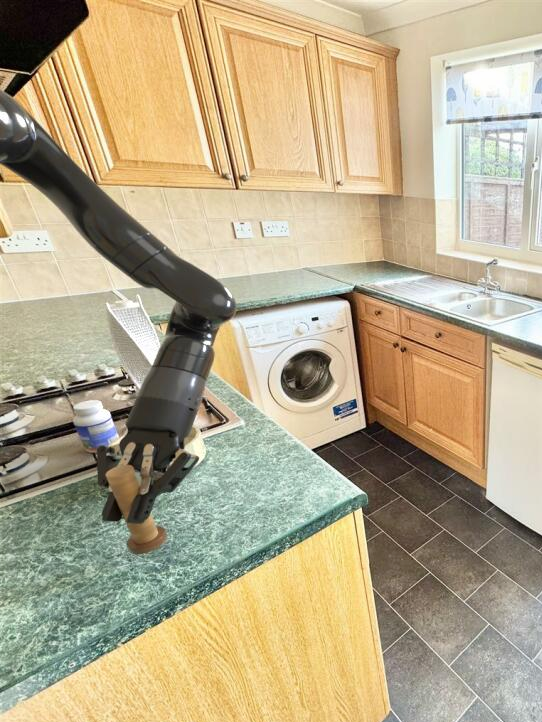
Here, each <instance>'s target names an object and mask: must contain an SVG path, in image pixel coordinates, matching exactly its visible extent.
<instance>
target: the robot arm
mask: <svg viewBox="0 0 542 722" xmlns="http://www.w3.org/2000/svg"><path fill="white" fill-rule="evenodd" d="M0 165H1V166H3V167H4V168H6V169H7V170H9V171H10V172H12V173H13V174H15V175H17V176H18V177H20V178H21V179H23V180H24V181H26V182H27V183H28V184H30V185H31V186H32V187H34V188H35V189H36V190H38V191H39V192H40V193H41V194H43V196H44V197H46V198H47V199H48V200H49V201H50V202H51V203H52V204H53V205H54V206H55V207H56V208H57V209H58V210H59V211H60V212H61V213H62V214H63V216H64V217H65V218H66V219H67V220H68V221H69V223H70V224H71V226H73V228H74V229H75V230H76V232H77V233H78V234H79V235H80V236H81V237H82V239H83V240H84V241H85V242H86V243H87V244H88V245H89V246H90V247H91V248H92V249H93V250H94V251H95V252H97V253H98V254H99V255H100V256H101V257H102V258H104V259H105V260H106V261H108V262H109V263H110V264H112V265H113V266H114V267H115V268H117V270H119V271H121V272H122V273H123V274H124V275H125V276H127V277H128V278H130V280H132V281H133V282H135V283H136V284H137V285H139V286H140V287H142V288H145V289H146V290H158V291H160V292H161V293H163V294H165V295H166V296H168V297H169V298H171V299H172V300H174V301H175V302H174V304H173V307H172V309H171V311H170V314H169V317H168V321H167V324H166V329H165V332H164V333H165V334H164V338H163V341H162V343H160V348H159V350H158V353H157V355H156V358H155V360H154V362H153V365H152V367H151V369H150V371H149V373H148V375H147V376H146V378H145V379H144V381H143V383H142V386H141V388H140V390H139V393H138V395H137V394H136V398H135V400H134V402H133V405H132V407H131V410H130V412H129V415H128V416H127V420H126V422H125V427H126V429H127V432H126V433H125V434H126V435H125V434H124V435H125V436H124V437H123V438H122V439H121V441H120V443H119V444H116V445H113V446H110V447H108V446H104V445H102V446H100V447H98V449H97V453H96V469H97V470H96V471H97V485H98V486H100V487H103V488H105V489H107V490H108V492H109V493H108V496H107V498H106V501H105V503H104V506H103V508H102V510H101V520H102V521H103V522H115V523H118V522H120V521H121V520H122V518H123V515H122V513H121V510H120V508H119V506H118V503H117V501H116V499H115V496H114V494H113V492H112V489H111V487H110V485H109V482H108V480H107V478H106V473H107V472H108V471H109V470H110V469H112V468H115V467H117V466H121V465H131V466H133V468H134V471H135V473H136V476H137V478H138V479H139V478H142V480H141V485H140V489H139V493H140V495H136V497H135V500H134V502H133V505H132V507H131V510H130V513H129V515H128V518H127V523H134V524H142V523H144V522H145V520H147V519H148V517H149V516H150V513H151V514H152V510H153V507H154V505H155V502H156V499H157V497H158V496H160V495H163V494H165V493H173V492H175V490H176V489H177V488H178V487H179V485H180V484H181V483H182V481H184V480H185V478H186V477H187V476H188V475H189V474H190V472H191V471H192V470H193V469H194V468H195V467H196V466H195V465H196V463H197V462H198V461H199V457H198V456H196V455H194V454H190V453H189V452H187V451H186V450H184V448H185V445H184V439H185V438H186V437H188V436H189V434H190V432H191V429H192V426H193V424H195V420H196V418H197V414H198V412H199V409H200V406H201V403H202V400H203V398H204V395H205V389H206V384H207V381H208V378H209V376H210V373H211V370H212V367H213V364H214V362H215V357H216V352H215V351H216V350H215V349H214V344H215V342H216V338H217V335H218V332H219V330H220V328H221V327H222V326H224V325H225V324H227V323H228V322H230V321H232V319H233V318H234V316H235V315H236V314H237V313H236V312H237V309H238V307H237V300H236V298H235V297H234V295H233V294H232V292H231V291H230V290H229V289H228V288H227V287H226V286H225V285H224V284H223V283H222V282H221V281H219V280H218V279H216V278H215V277H214V276H212V275H211V274H208V272H205V271H204V270H202V269H201V268H199V267H198V266H196V265H194V264H193V263H191V262H189V261H187V260H185V259H184V258H182V257H180V256H179V255H178V254H176V253H175V251H173V250H172V249H171V248H170V247H169V246H168V245H167V244H165V243H164V242H163V241H162V240H160V239H159V238H158V237H157V236H156V235H154V234H153V233H152V232H151V231H150V229H149V230H148V229H147V228H146V227H145V226H144V225H143V224H142V223H140V222H139V221H138V220H137V219H136V218H135V217H133V215H131V214H130V213H129V212H127V210H125V209H124V208H123V207H122V206H121V205H119V203H118V202H117V201H115V200H114V199H113V198H112V197H111V196H110V195H109V194H108V193H107V192H105V191H104V189H102V188H101V187H100V186H99V184H97V183H96V182H95V181H94V180H93V179H92V178H91V177H90V176H89V175H88V174H87V173H86V172H85V171H84V170H83V169H82V168H81V167H80V166H79V165H78V164H77V163H76V162H75V161H74V160H73V159H72V158H71V157H70V156H69V155H68V154H67V153H66V151H64V149H63V148H62V147H61V146H60V144H58V143H57V141H56V140H55V139H54V138H53V137H52V136H51V135H50V134H49V133H48V132H47V130H46V129H45V128H44V127H43V126H42V125H41V124H40V123H39V122H38V121H37V120H36V118H34V116H33V115H32V114H31V113H30V112H29V111H28V110H27V109H26V108H25V107H24V106H23V105H22V104H21V103H20V102H19V101H18V100H16V99H15V98H14V97H13V96H12V95H10V94H9V93H7V92H5V91H4V90H3V89H0ZM172 461H173V463H172V464H171V466H170V463H171V462H172ZM194 466H195V467H194ZM193 467H194V468H193ZM154 471H157V472H154ZM152 482H153V483H152Z"/></svg>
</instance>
